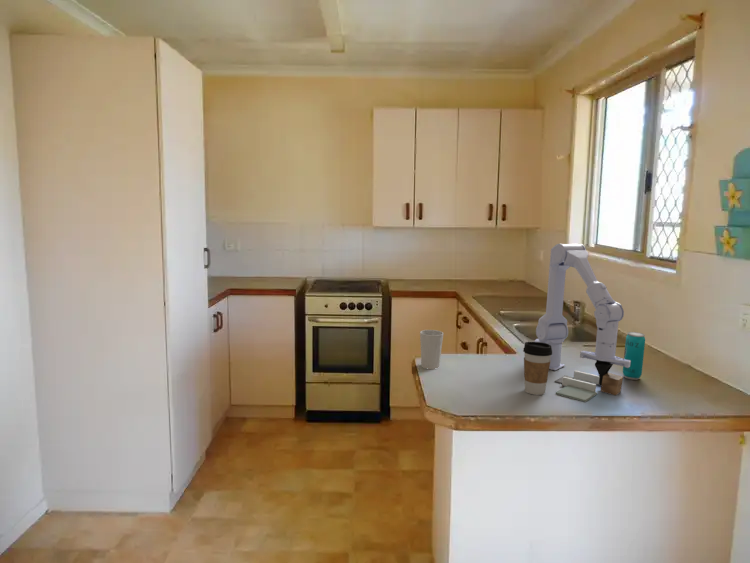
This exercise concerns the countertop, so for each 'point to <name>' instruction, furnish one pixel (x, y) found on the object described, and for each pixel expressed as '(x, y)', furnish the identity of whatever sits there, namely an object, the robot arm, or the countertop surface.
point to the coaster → (576, 393)
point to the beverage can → (634, 355)
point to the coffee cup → (536, 366)
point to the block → (611, 383)
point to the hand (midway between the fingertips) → (602, 384)
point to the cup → (431, 348)
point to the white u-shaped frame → (580, 384)
